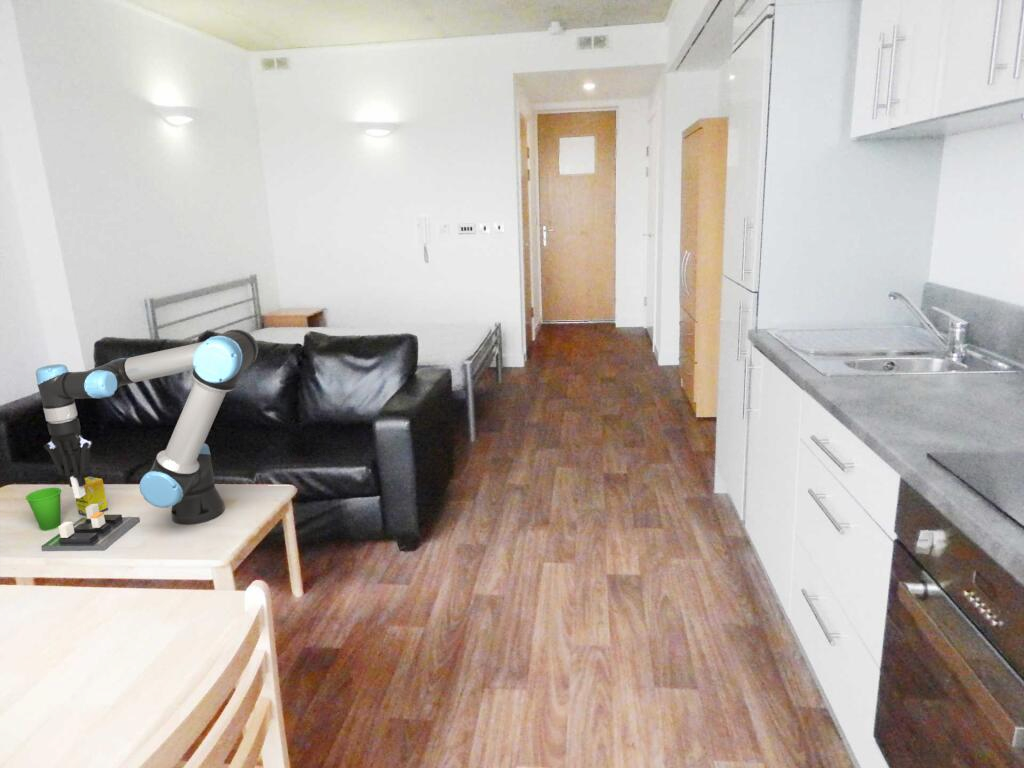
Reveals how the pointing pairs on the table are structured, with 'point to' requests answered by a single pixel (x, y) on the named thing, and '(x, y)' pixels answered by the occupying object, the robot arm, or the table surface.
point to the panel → (92, 546)
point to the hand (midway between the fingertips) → (80, 496)
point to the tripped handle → (97, 519)
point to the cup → (46, 507)
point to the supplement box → (92, 495)
